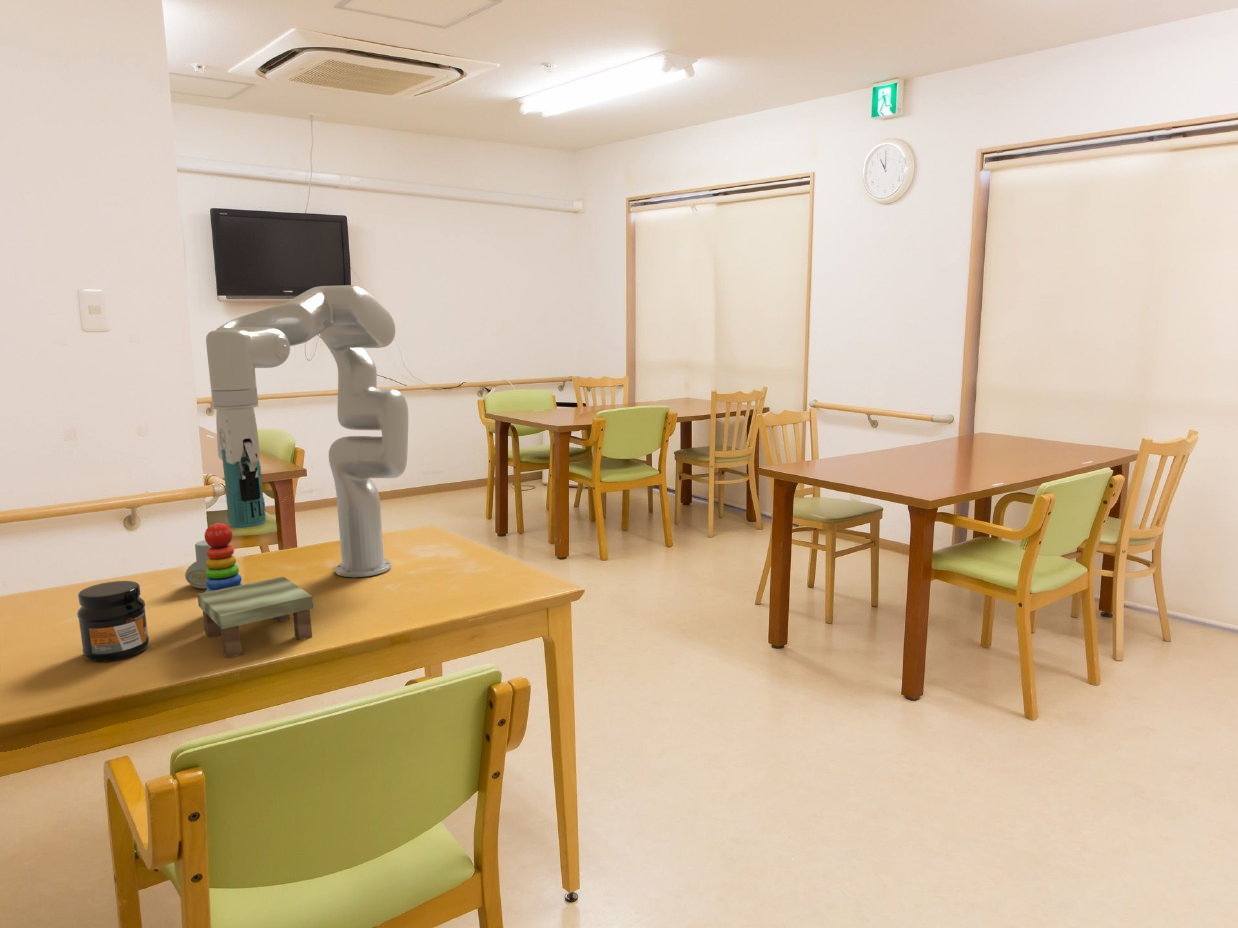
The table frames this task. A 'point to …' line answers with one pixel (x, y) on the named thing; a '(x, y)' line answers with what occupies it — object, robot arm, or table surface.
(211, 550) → the stacking toy
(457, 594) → the table surface
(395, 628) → the table surface
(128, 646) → the supplement container
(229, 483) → the beverage bottle
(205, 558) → the grey flask
